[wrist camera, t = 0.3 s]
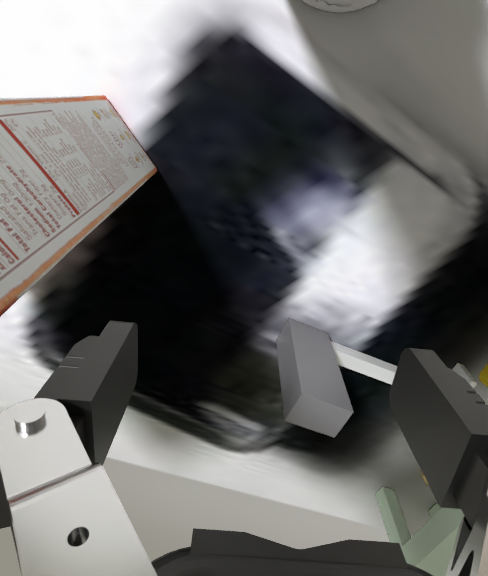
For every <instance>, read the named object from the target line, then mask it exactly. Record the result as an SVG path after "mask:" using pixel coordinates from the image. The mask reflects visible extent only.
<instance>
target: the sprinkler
mask: <svg viewBox="0 0 488 576" xmlns="http://www.w3.org/2000/svg"><path fill="white" fill-rule="evenodd" d="M479 381H481V382H482V383H483V384H484V385H485V386H487V387H488V363H487V365H486V366H485V367H484V369H483V370H482V371H481V372H480V375H479Z"/></svg>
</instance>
